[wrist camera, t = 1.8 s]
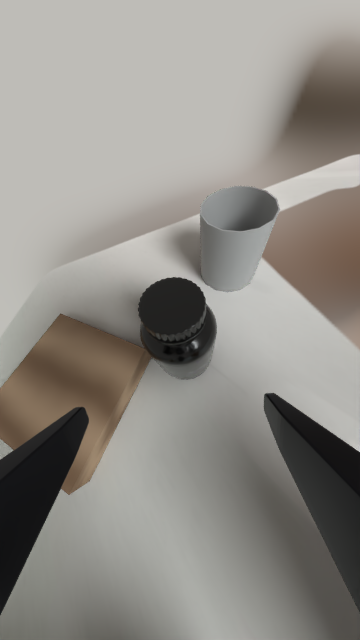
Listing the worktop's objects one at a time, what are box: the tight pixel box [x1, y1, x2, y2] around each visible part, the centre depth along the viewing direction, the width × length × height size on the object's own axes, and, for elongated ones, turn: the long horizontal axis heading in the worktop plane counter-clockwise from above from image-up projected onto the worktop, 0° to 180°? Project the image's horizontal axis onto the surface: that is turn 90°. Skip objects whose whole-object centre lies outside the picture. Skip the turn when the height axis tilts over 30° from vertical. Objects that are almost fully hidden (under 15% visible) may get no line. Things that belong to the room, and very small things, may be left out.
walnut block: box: [0, 314, 151, 495], centre depth 20 cm, size 14×14×3 cm
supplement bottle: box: [138, 277, 217, 379], centre depth 17 cm, size 7×7×12 cm
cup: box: [200, 186, 280, 292], centre depth 23 cm, size 8×8×10 cm
